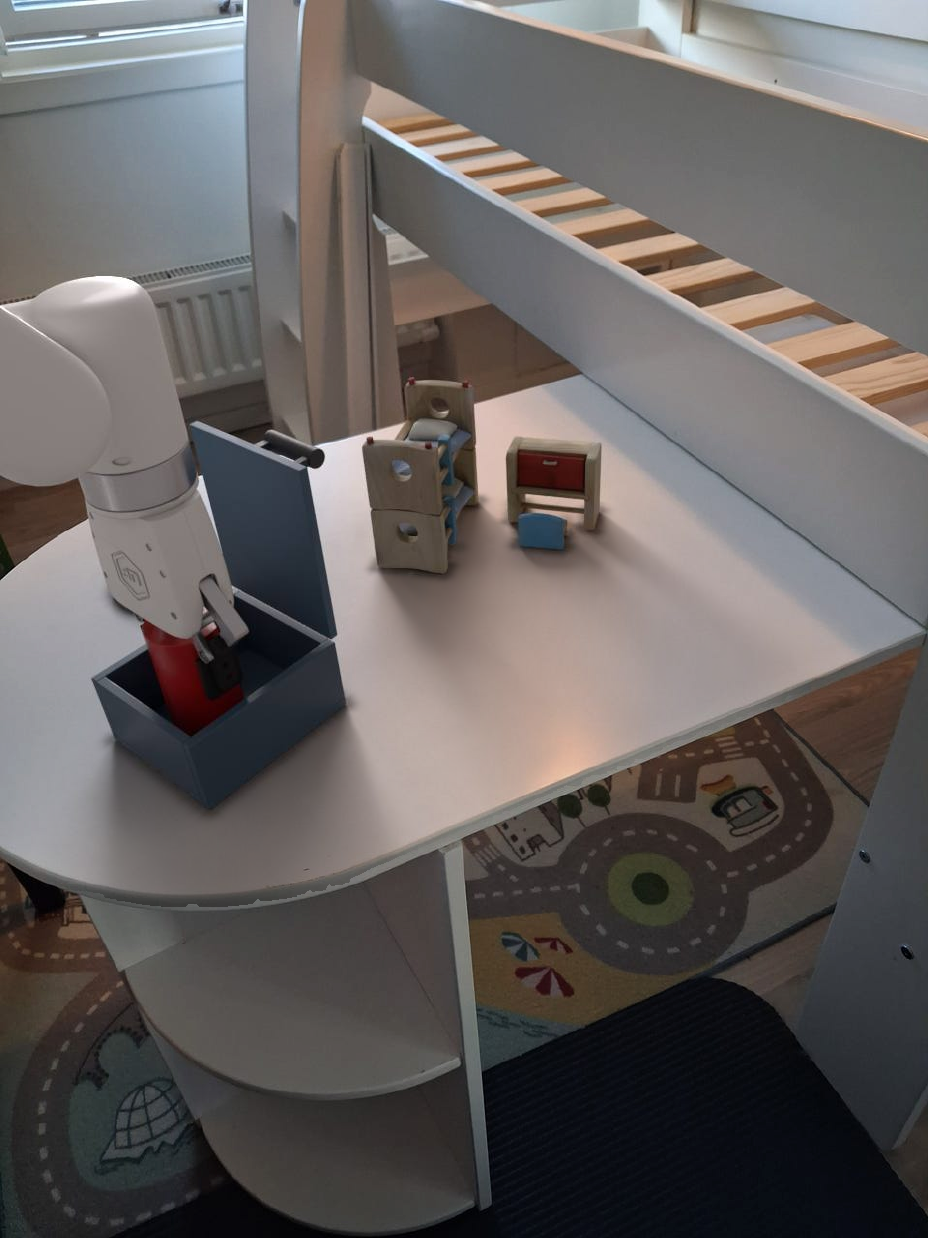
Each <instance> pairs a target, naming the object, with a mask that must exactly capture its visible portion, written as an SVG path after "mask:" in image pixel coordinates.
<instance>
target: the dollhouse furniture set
mask: <svg viewBox="0 0 928 1238" xmlns="http://www.w3.org/2000/svg"><path fill="white" fill-rule="evenodd" d="M407 381H408V382H406V384H405V386H404V401H405V411H406V421H405V422H404V424H403V425H402V427H401V428H400V430H399V432H398V433H397V434H396V436H395V437H394V438H393V439H374V437H373V436H367V437H366V441H364V443H363V444H362V446H361V452H362V460H363V467H364V474H365V481H366V482H365V483H366V489H367V495H368V503H369V508H370V509H371V510H370V520H371V527H372V535H373V542H374V550H375V558H376V565H377V567H378V568H383V569H415V570H420V571H425V572H430V573H435V574H442V575H444V574H446V573H447V571H448V568H449V562H448V549H449V547H448V546H449V545H451V546H453V545H454V546H455V545H456V543H458V542H457V541H458V528H457V527H458V526H457V521H458V519H459V516H460V514H461V511H462V509H463V507H465V506H477V505H478V502H479V483H478V481H479V480H478V470H477V468H478V467H477V450H476V449H477V448H476V445H477V433H476V432H477V431H476V417H475V416H476V415H475V396H474V386H473V385H471V384H469V382H468V380H463V381H462V382H456V381H450V380H435V379H427V380H415V377H412V376H410V377H408V380H407ZM434 399H441V400H442V401H444V402H445V403H446V405H447V407H448V411H446V412H439V411H437V410H435V408H434V407H433V405H432V400H434ZM602 446H603V445H602V443H601V442H596V441H592V442H591V441H579V440H566V439H553V438H540V437H528V436H527V437H526V436H525V437H524V436H518V435H517V436H514V437H513V439H512V441H511V442H510V444H509V447H508V449H507V450H506V455H505V468H506V469H505V475H506V479H505V480H506V500H507V501H506V503H507V505H506V506H507V521H508V522H509V523H517V531H518V546H519V547H520V546H521V547H527V548H537V549H547V550H548V549H549V550H557V551H562V550H564V547H565V537H567V536H568V519H565V518H562V517H561V516H557V515H553V514H550V513H544V512H543V513H542V512H541V513H540V512H528V513H523V511H524V509H531V510H539V511H540V510H541V511H553V512H559V513H560V512H561V513H571V514H580V515H581V514H582V515H583V530H585V531H594V530H595V527H596V524H597V520H598V517H599V513H600V511H601V510H600V507H601V506H600V505H601V475H602ZM526 495H529V496H530V495H531V496H540V497H541V496H542V497H550V498H551V497H552V498H562V499H573V500H580V501H583V503H584V505H583V507H577V506H569V505H568V506H567V505H557V504H547V503H539V502H538V503H537V502H529V501H527V500H526V499H527V497H526Z"/></svg>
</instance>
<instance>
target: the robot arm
mask: <svg viewBox="0 0 928 1238" xmlns="http://www.w3.org/2000/svg"><path fill="white" fill-rule="evenodd" d="M0 476H1V477H2V478H5V479H6V480H9V481H11V482H14V483H17V484H20V485H26V486H33V487H53V486H56V485H57V486H59V485H63V484H66V483H68V482H70V481H73V480H75V479H78V481H79V484H80V487H81V490H82V493H83V496H84V501H85V508H86V514H87V519H88V524H89V527H90V532H91V536H92V539H93V540H92V541H93V543H94V547H95V551H96V555H97V557H98V561H99V564H100V568H101V571H102V574H103V578H104V581H105V583H106V587H107V589H108V591H109V592H108V593H109V594H110V595H111V597H113V599H115V601H116V602H117V601H118V602H119V603H121V604H122V605H123V606H125V607H126V608H125V609H127V608H128V609H127V610H129V609H130V610H129V611H131V612H132V614H133V616H134V618H135V620H137V622H139V623H141V624H140V625H139V627H140V630H141V631H142V626H143V622H144V621H145V620H147V621H149V622H150V623H152V624H153V625H155V626H157V627H158V628H160V629H162V630H163V631H165V632H167V633H169V634H171V635H173V636H175V637H178V638H182V639H189V638H190V639H191V641H192V643H193V645H194V647H195V649H196V651H197V652H198V654H199V656H200V657H198V658H197V659H196V660H195V662H196V665H197V669H198V672H199V675H200V679H201V682H202V685H203V689H204V692H205V696H206V698H208V699H209V700H211V701H214V700H216V699H217V698H219V697H220V696H222V695H223V694H225V693H226V692H227V691H229V690H230V689H232V688H233V687H235V686H236V685H238V684H239V683H240V682H241V681H242V679H243V675H242V671H241V668H240V664H239V660H238V656H237V652H236V648H235V646H236V645H237V644H238V642H239V641H240V640H241V639H242V638H243V637H245V636H246V635H247V634H248V633H249V630H248V627H247V626H246V624H245V623H244V622H243V620H242V619H241V617H240V616H239V615H238V613H237V612H236V610H235V609H234V608H233V606H234V597H233V591H232V589H233V586H232V585H231V581H230V577H229V574H228V570H227V566H226V563H225V560H224V557H223V553H222V549H221V546H220V542H219V538H218V534H217V532H216V529H215V527H214V525H213V522H212V519H211V517H210V515H209V512H208V509H207V506H206V504H205V502H204V500H203V497H202V495H201V492H200V491H199V490H198V487H199V484H200V478H199V474H198V469H197V466H196V462H195V459H194V455H193V451H192V447H191V443H190V439H189V436H188V430H187V427H186V423H185V419H184V415H183V410H182V407H181V402H180V399H179V395H178V392H177V388H176V384H175V380H174V375H173V371H172V368H171V364H170V360H169V356H168V353H167V348H166V343H165V341H164V337H163V333H162V329H161V325H160V321H159V317H158V313H157V310H156V307H155V304H154V302H153V299H152V297H151V296H150V294H149V293H148V292H147V290H146V289H145V288H144V287H143V286H142V285H140V284H139V283H137V282H135V281H133V280H130V279H128V278H124V277H118V276H90V277H82V278H78V279H73V280H68V281H65V282H62V283H59V284H56V285H54V286H52V287H50V288H48V289H46V290H44V291H42V292H41V293H39V294H38V295H37V296H35V297H33V298H30V299H25V300H21V301H17V302H16V301H15V302H11V303H5V304H0ZM118 602H117V603H118ZM119 603H118V604H119ZM123 606H122V607H123ZM204 607H205V608H206V610H207V612H205V613H204V614H203V609H204ZM212 622H214V624H215V626H216V628H217V630H218V632H219V634H218V635H217V636H216V637H214V638H213V639H212V640H211V641H210V642H209V643H207V641H206V639H205V637H204V635H203V633H202V631H201V629H203V628H205V627H206V626H208V625H209V624H211V623H212Z"/></svg>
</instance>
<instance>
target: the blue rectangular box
mask: <svg viewBox="0 0 928 1238" xmlns="http://www.w3.org/2000/svg"><path fill="white" fill-rule="evenodd" d="M232 591H233V597H234V606H233V608H234V609H235V610H236V612H237V613H238V615H239V616H240V617H241V619H242V620H243V622H244V623H245V624H246V626H247V627H248V630H249V633H248V634H247V635H246V636H245V637H243V638H242V639H241V640H240V641H239V642H238V644H237V645H236V646H235V648H236V652H237V656H238V660H239V664H240V668H241V671H242V675H243V679H242V681H241V684H242V688H243V692H244V695H245V699H244V700H243V701H241V702H240V703H238V704H237V705H236V706H234V707H233V708H231V709H230V710H229V711H227V712H226V713H224V714H223V715H222V716H220V717H219V718H217V719H216V720H215V721H213V722H212V723H210V724H209V725H208V726H206V727H205V728H203V729H202V730H201V731H199V732H198V733H197V734H195V735H194V736H192V737H190V736H189V735H187V734H186V733H184V732H183V731H182V730H180V729H179V728H177V727H176V726H174V725H173V723H172V720H171V717H170V714H169V711H168V708H167V705H166V702H165V699H164V696H163V693H162V690H161V687H160V684H159V681H158V678H157V675H156V672H155V669H154V666H153V663H152V660H151V657H150V654H149V651H148V648H147V645H146V643H144V644H143V645H141V646H139V647H138V648H137V649H135V650H133V651H131V652H130V653H129V654H127V655H125V656H124V657H122V658H121V659H119V660H118V661H115V662H114V663H113V664H111V665H110V666H108V667H107V668H105V669H103V670H102V671H100V672H99V673H97V674H95V675H94V676H92V677H90V680H91V682H92V684H93V687H94V689H95V690H94V691H95V692H96V695H97V697H98V700H99V702H100V705H101V707H102V709H103V712H104V715H105V717H106V720H107V722H108V726H109V727H110V731H111V732H112V736H113V738H114V740H115V741H117V742H118V743H120V744H121V745H122V746H124V747H125V748H126V749H127V750H129V751H130V752H132V753H133V754H134V755H136V756H137V757H138V758H140V759H141V760H142V761H143V762H145V763H146V764H147V765H149V766H150V767H152V768H153V769H154V770H156V772H158V773H160V774H161V775H162V776H164V778H166V779H168V780H169V781H170V782H171V783H172V784H174V785H176V787H178V788H179V789H181V790H182V791H184V792H185V793H186V794H187V795H189V797H192V798H193V799H194V800H195V801H196V802H198V803H200V804H201V805H202V806H204V808H206V809H208V810H209V811H211V810H212V809H213V808H214V807H216V806H217V805H218V804H221V802H222V801H224V800H225V799H226V798H227V797H229V796H230V795H231V794H232V793H234V792H235V791H236V790H238V789H239V788H240V787H242V786H243V785H244V784H245V783H247V782H248V781H250V780H251V779H252V778H253V777H255V776H256V775H257V774H258V773H259V772H261V771H262V770H264V769H265V768H266V767H267V766H269V765H270V764H271V763H273V762H274V761H275V760H276V759H278V758H279V757H280V756H282V755H283V754H284V753H285V752H287V751H288V750H290V748H292V747H293V746H295V745H296V744H297V743H298V742H300V741H301V739H304V738H305V737H306V736H307V735H308V734H310V733H311V732H312V731H313V730H315V729H317V728H318V726H320V725H321V724H322V723H324V722H325V721H326V720H328V719H329V718H330V717H332V716H333V715H334V714H335V713H337V712H338V711H340V709H342V708H343V707H344V706H346V705H347V699H346V696H345V695H346V694H345V689H344V684H343V678H342V673H341V668H340V662H339V657H338V651H337V646H336V642H335V641H333V640H332V639H331V640H330V639H328V638H327V637H325V636H323V635H321V634H319V633H317V632H316V631H314V630H312V629H310V628H308V627H306V626H305V625H303V624H301V623H299V622H297V621H295V620H294V619H292V618H290V617H288V616H286V615H285V614H283V613H281V612H279V611H277V610H275V609H274V608H272V607H270V606H268V605H266V604H264V603H263V602H261V601H259V600H257V599H255V598H253V597H252V596H250V595H248V594H246V593H244V592H242V591H241V590H239V589H237V588H235V587H233V588H232Z"/></svg>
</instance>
